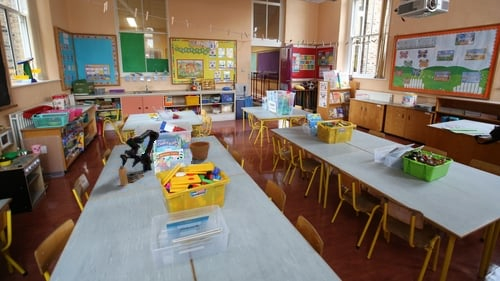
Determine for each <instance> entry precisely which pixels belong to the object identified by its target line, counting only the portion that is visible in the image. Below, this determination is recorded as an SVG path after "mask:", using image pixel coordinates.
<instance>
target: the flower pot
mask: <svg viewBox="0 0 500 281" xmlns="http://www.w3.org/2000/svg"><path fill="white" fill-rule="evenodd" d="M210 144H211V143H210V142H208V141H195V142H191V143H188V146H189V150H190V153H191V156H192V159H194V160H199V161H201V160H206V159H207V158H208V157H209V156H208V155H209V151H210V148H211V147H210V146H211V145H210Z"/></svg>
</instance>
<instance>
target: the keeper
mask: <svg viewBox="0 0 500 281" xmlns="http://www.w3.org/2000/svg"><path fill="white" fill-rule="evenodd" d="M143 177H145V174H139V173H136V172H135V173H134V172H130V173H127V180H128V183H133V184H134V183H136V182H137V181H138V180H140V179H142V178H143Z"/></svg>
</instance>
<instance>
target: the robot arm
mask: <svg viewBox="0 0 500 281" xmlns="http://www.w3.org/2000/svg"><path fill="white" fill-rule="evenodd" d="M159 137H160V133H159V132H158V131H154V130H153V129H146V131H144V132H143V133H141V134H140V135H137V136H135V137H129V138H128V139H126V141H125V144H126V145H127V146H128V147H129V148H131V149H128V150H127V149H124V153H121V154H120V155H119V158H120V159H121V164H122V165H121V166H124V167H125V165H126V163H127V162H128V159H129V160H130V159H131V160H133V163H132V165H131V168H134V167H136V166H137V164H139V163H140V164H142V170H143V171H144V172H148V171H152V170H153V168H152V163H153V160H152V157H150V153H151V150H152V148H153V143H154V144H155V142H156V141H157V140H158V139H159ZM147 138H149V141H148V142H147V144H146V145H147V148H146V150H145V153H144V154H142V153H141V154H140V155H138V154H139V152H138V151H139V149H141V148H142V147H141V145H142V144H143V143H144V142H145V139H147ZM155 140H156V141H155ZM154 141H155V142H154Z"/></svg>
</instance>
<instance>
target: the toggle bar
mask: <svg viewBox="0 0 500 281" xmlns="http://www.w3.org/2000/svg"><path fill="white" fill-rule="evenodd" d="M117 171H118V177H119V184H120V186H127V185H128V184H129V182H128V180H127V174H128V173H127V167H125V165H124V166H122V165H120V166H119V168H118V169H117Z"/></svg>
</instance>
